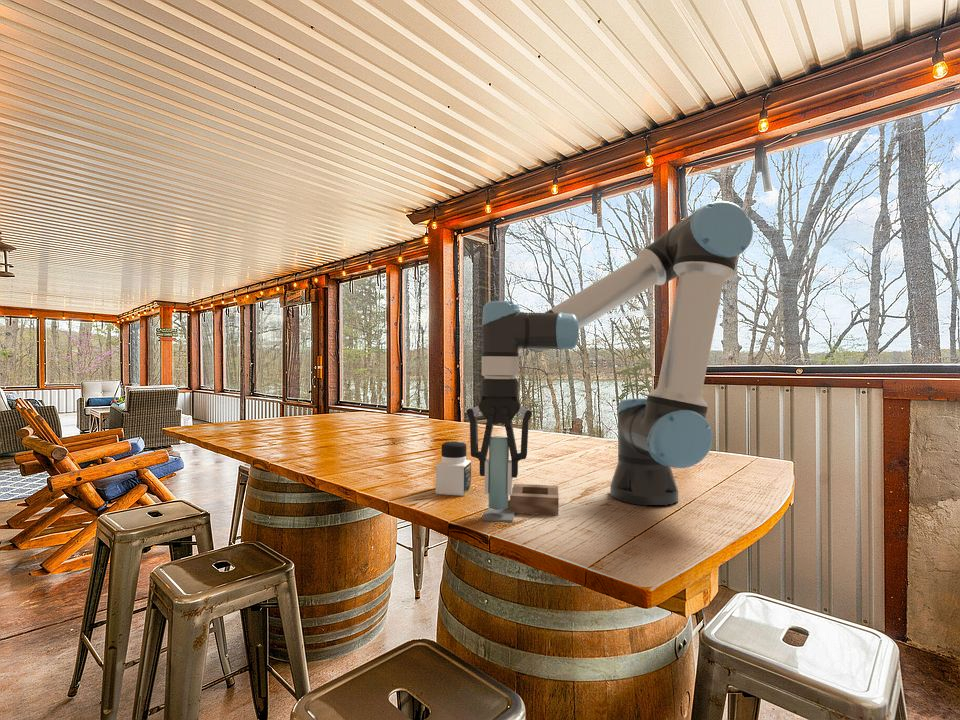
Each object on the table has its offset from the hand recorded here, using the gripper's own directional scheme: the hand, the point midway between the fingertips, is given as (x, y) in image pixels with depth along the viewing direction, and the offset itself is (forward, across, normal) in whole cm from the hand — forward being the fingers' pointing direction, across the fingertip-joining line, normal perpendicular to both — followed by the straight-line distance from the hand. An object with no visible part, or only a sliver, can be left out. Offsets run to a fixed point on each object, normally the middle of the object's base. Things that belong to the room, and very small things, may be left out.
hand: (498, 492), depth 95 cm
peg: (+3, 0, 0) cm, 3 cm away
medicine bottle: (+5, +13, -17) cm, 22 cm away
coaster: (+5, 0, 0) cm, 5 cm away
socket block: (+5, -7, -8) cm, 12 cm away
